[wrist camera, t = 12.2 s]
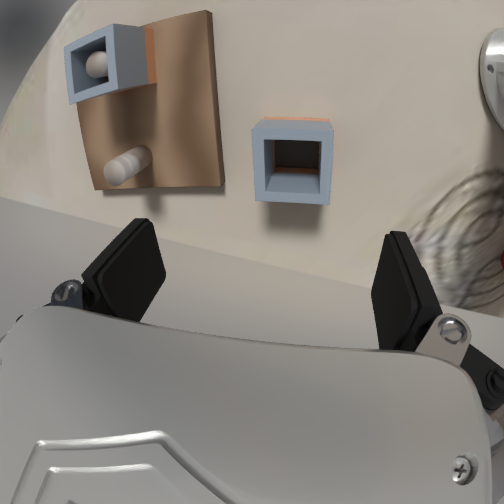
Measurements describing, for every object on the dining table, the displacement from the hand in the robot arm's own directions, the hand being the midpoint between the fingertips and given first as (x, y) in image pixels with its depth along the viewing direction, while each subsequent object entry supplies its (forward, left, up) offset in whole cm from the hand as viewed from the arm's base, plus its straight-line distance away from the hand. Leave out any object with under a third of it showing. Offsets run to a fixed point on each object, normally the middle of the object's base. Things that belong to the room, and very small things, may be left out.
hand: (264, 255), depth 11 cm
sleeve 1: (+15, -10, -15) cm, 23 cm away
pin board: (+15, -5, -17) cm, 23 cm away
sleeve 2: (0, 0, -17) cm, 17 cm away
